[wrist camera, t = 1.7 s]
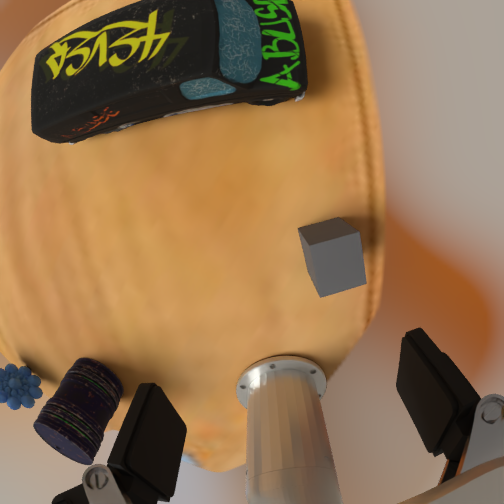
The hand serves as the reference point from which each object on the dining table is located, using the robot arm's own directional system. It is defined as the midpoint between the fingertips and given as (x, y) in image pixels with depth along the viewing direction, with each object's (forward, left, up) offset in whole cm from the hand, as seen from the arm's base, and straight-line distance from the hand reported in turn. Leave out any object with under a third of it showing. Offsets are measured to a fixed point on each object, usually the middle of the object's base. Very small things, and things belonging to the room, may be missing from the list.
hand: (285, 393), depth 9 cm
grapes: (-13, +53, -20) cm, 58 cm away
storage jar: (-15, +32, -20) cm, 41 cm away
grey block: (-2, -6, -20) cm, 21 cm away
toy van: (+20, +4, -20) cm, 28 cm away
